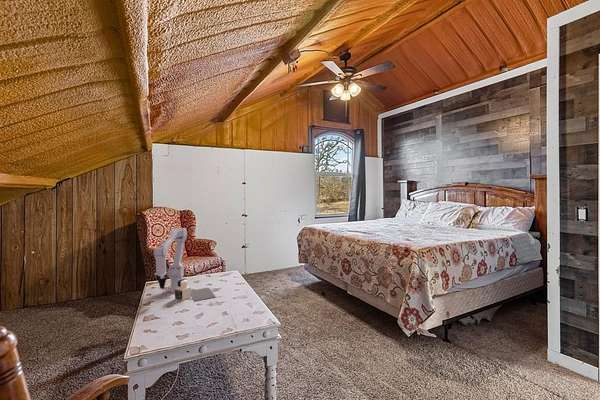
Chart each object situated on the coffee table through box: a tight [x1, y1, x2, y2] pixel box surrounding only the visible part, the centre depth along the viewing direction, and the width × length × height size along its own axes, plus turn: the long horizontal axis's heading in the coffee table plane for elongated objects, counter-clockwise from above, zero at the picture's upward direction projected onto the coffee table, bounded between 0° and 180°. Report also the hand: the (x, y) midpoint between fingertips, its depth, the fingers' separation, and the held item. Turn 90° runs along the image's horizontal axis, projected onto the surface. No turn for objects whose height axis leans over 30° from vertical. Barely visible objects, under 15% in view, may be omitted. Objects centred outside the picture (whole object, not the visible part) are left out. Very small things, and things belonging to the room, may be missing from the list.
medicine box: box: [174, 278, 192, 302], centre depth 182 cm, size 7×7×12 cm
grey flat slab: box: [191, 287, 216, 302], centre depth 188 cm, size 20×13×1 cm, turn 30°
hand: (161, 286), depth 179 cm, fingers open, 7 cm apart
